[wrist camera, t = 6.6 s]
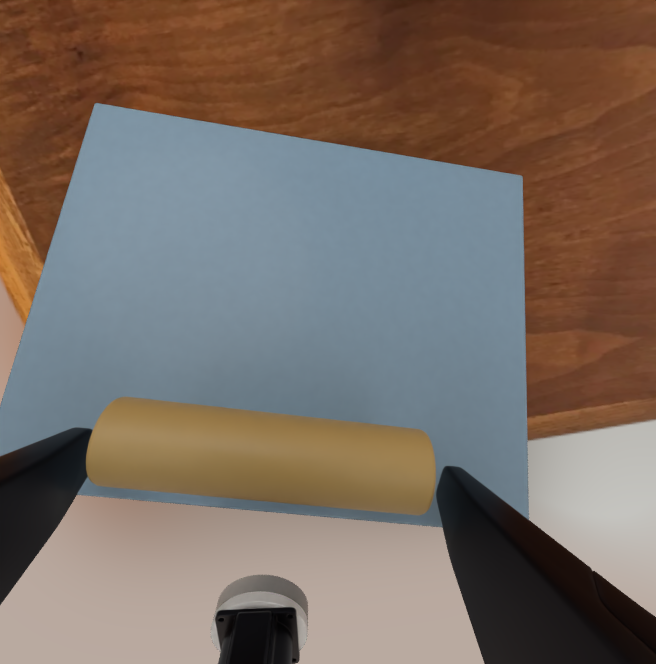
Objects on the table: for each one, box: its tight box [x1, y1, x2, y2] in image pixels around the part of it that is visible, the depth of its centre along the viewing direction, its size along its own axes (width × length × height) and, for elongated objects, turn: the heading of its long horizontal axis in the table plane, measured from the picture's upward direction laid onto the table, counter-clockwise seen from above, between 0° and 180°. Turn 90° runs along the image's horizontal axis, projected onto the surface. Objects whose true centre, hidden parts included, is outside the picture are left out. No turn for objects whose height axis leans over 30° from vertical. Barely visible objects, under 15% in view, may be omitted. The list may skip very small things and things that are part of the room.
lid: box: [0, 103, 529, 527], centre depth 9 cm, size 12×16×5 cm
